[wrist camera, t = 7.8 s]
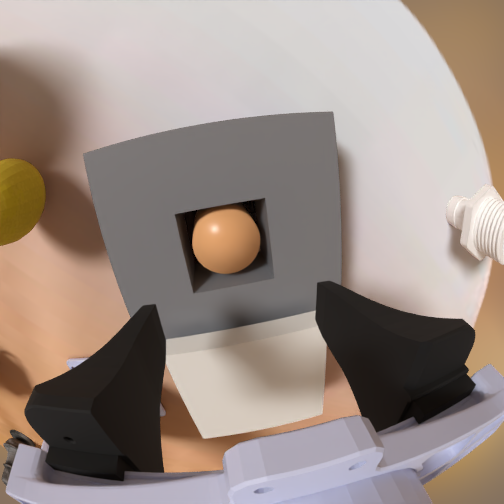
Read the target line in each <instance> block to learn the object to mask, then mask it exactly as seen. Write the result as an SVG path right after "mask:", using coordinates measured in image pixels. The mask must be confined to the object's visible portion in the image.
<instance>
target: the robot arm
mask: <svg viewBox="0 0 504 504" xmlns="http://www.w3.org/2000/svg"><path fill="white" fill-rule="evenodd" d="M315 320H316V323H317V325H318V328H319V330H320V333H321V335H322V337H323V339H324V340H325V342H326V344H327V345H328V347H329V349H330V350H331V352H332V354H333V355H334V357H335V359H336V360H337V362H338V364H339V365H340V367H341V368H342V370H343V372H344V374H345V376H346V378H347V380H348V382H349V385H350V387H351V389H352V391H353V394H354V396H355V399H356V401H357V404H358V407H359V409H360V412H361V415H362V416H357V415H355V416H350V417H344V418H339V419H336V420H333V421H329V422H326V423H322V424H318V425H314V426H310V427H306V428H302V429H298V430H294V431H289V432H284V433H280V434H275V435H269V436H264V437H258V438H254V439H251V440H247V441H243V442H240V443H238V444H236V445H235V446H233V447H232V448H230V449H228V450H227V451H226V452H225V453H224V457H223V460H222V461H223V469H224V470H216V471H203V472H182V473H164V467H163V459H162V448H161V433H160V416H165V415H166V411H165V410H164V408H163V406H162V404H161V403H160V399H161V391H162V384H163V377H164V370H165V362H166V338H165V335H164V332H163V328H162V325H161V321H160V318H159V314H158V310H157V306H156V304H151V305H143V306H142V307H141V308H140V309H139V310H138V311H137V312H136V313H135V314H134V315H133V316H132V318H131V319H130V320H129V321H128V322H127V323H126V324H125V325H124V326H123V328H122V329H121V330H120V331H119V332H118V333H117V334H116V335H115V336H114V337H113V338H112V339H111V340H110V341H109V342H108V343H107V344H105V345H104V346H103V347H102V348H101V349H100V350H98V351H97V352H96V353H95V354H93V355H92V356H91V357H89V358H76V359H68V360H67V365H68V367H69V368H70V370H69V371H67V372H66V373H64V374H62V375H60V376H58V377H56V378H53V379H51V380H49V381H46V382H44V383H41V384H39V385H36V386H35V387H34V389H33V392H32V394H31V396H30V398H29V401H28V403H27V405H26V407H25V416H26V419H27V421H28V422H29V424H30V425H31V426H32V428H33V429H34V430H35V431H36V432H37V433H38V434H39V435H40V437H41V438H42V439H43V440H44V441H43V444H42V447H41V449H40V448H37V447H33V446H29V445H25V444H22V443H21V444H19V446H18V449H17V452H16V456H15V459H14V462H13V465H12V469H11V472H10V476H9V480H8V483H7V487H6V493H7V494H8V495H10V496H11V497H13V498H14V499H16V500H17V501H18V502H20V503H21V504H433V503H432V501H431V499H430V498H429V496H428V494H427V492H426V491H425V489H424V487H423V485H424V484H426V483H427V482H429V481H431V480H432V479H434V478H435V477H436V476H438V475H440V474H441V473H442V472H444V471H445V470H447V469H448V468H450V467H451V466H452V465H453V464H455V463H457V462H458V461H459V460H461V459H462V458H463V457H464V456H465V455H467V454H468V453H469V452H471V451H472V450H473V449H475V448H476V447H477V446H478V445H480V444H481V443H482V442H483V441H485V440H486V439H487V438H488V437H489V436H490V435H492V434H493V433H494V432H495V431H496V430H497V428H498V427H499V426H500V425H501V424H502V422H503V421H504V377H503V376H502V375H501V374H500V373H499V372H498V371H497V370H496V369H495V368H494V367H493V366H492V365H491V364H488V365H486V366H485V367H483V368H482V369H480V370H479V371H477V372H476V373H475V374H474V375H473V376H472V377H471V378H470V377H469V376H468V375H467V374H466V373H468V371H469V370H468V368H467V367H466V366H465V362H466V360H467V358H468V356H469V353H470V351H471V349H472V347H473V343H474V340H475V330H474V329H473V328H472V327H471V326H470V325H469V324H468V323H466V322H465V321H464V320H463V319H448V318H435V317H427V316H421V315H416V314H412V313H407V312H403V311H400V310H397V309H393V308H390V307H387V306H385V305H382V304H379V303H377V302H375V301H372V300H370V299H368V298H365V297H363V296H361V295H359V294H357V293H355V292H353V291H351V290H349V289H347V288H345V287H343V286H341V285H339V284H337V283H335V282H332V281H323V282H317V296H316V313H315Z"/></svg>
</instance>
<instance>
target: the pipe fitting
mask: <svg viewBox="0 0 504 504" xmlns="http://www.w3.org/2000/svg"><path fill="white" fill-rule="evenodd" d="M446 219H447V221H448V223H449V224H451V225H452V226H454V227H455V228H457V229H459V230H462V233H461V239H460V244H461V245H462V246H463V247H464V248H465V249H466V250H467V251H468V252H469V253H470V254H471V255H472V256H473V257H475V258H476V259H478V260H480V261H482V260H483V259H484V258H485V256H486V255H487V256H489V257H490V258H492V259H493V260H496V261H497V262H499V263H500V264H502V265H504V201H503V200H502V198H501V197H500V195H499V194H498V192H497V191H496V189H495V188H494V187H493V186H490V185H487V184H485V185H484V186H483V187H482V188H481V189H480V190H479V191H478V192H477V193H476V194H475V195H474V196H473V197H472V198H471V199H470V200H469V199H468V198H466V197H461V196H454V197H452V198H451V199H450V200H449V202H448V204H447V207H446Z"/></svg>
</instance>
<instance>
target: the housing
mask: <svg viewBox="0 0 504 504" xmlns="http://www.w3.org/2000/svg"><path fill="white" fill-rule="evenodd" d="M83 156H84V161H85V167H86V172H87V177H88V181H89V186H90V190H91V195H92V199H93V203H94V207H95V211H96V215H97V219H98V222H99V226H100V230H101V233H102V237H103V240H104V243H105V247H106V250H107V253H108V256H109V259H110V262H111V265H112V268H113V271H114V274H115V277H116V280H117V283H118V286H119V289H120V291H121V294H122V297H123V299H124V302H125V305H126V307H127V310H128V312H129V315H130V317H131V318H132V316H133V315H134V314H135V313H136V312H137V311H138V310H139V309H140V308H141V307H142V306H143V305H151V304H156V306H157V310H158V314H159V318H160V321H161V325H162V328H163V332H164V335H165V338H166V339H172V338H179V337H185V336H192V335H198V334H204V333H210V332H215V331H221V330H227V329H232V328H237V327H242V326H247V325H252V324H257V323H262V322H267V321H272V320H276V319H281V318H285V317H290V316H294V315H299V314H303V313H307V312H311V311H315V310H316V296H317V282H323V281H332V282H335V283H337V284H339V285H341V273H342V241H341V204H340V184H339V168H338V155H337V144H336V133H335V124H334V115H333V112H309V113H291V114H278V115H267V116H257V117H248V118H240V119H232V120H225V121H218V122H212V123H206V124H200V125H195V126H189V127H184V128H179V129H174V130H169V131H165V132H160V133H156V134H151V135H147V136H143V137H139V138H135V139H131V140H128V141H124V142H120V143H117V144H113V145H110V146H106V147H103V148H100V149H97V150H93V151H90V152H87V153H84V154H83ZM250 200H254V204H255V211H256V219H257V227H258V230H259V233H260V250H261V251H259V252H258V254H257V256H256V257H255V259H254V260H253V261H252V263H251V264H250V265H248V266H247V267H246V268H244V269H242V270H240V271H238V272H235V273H230V274H221V273H216V272H213V271H210V270H209V269H207V268H205V267H204V266H203V265H202V264H201V263H195V262H194V258H193V253H192V249H191V244H190V240H189V235H188V230H187V226H186V221H185V216H184V212H188V211H194V210H199V209H204V208H210V207H215V206H221V205H226V204H232V203H238V202H244V201H250Z"/></svg>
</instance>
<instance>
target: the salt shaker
mask: <svg viewBox="0 0 504 504" xmlns="http://www.w3.org/2000/svg"><path fill="white" fill-rule="evenodd" d="M10 433H11V435H12V437H13V438H10V439H8V440H7V441H6V443H4V444H3V445H4V447H5V448H6V450H7V451H8V457H7V460H6V463H5V464H3V465H4V466H5V468H4V472H3V475H2V481H3V482H4V484H6V486H7V483H8V480H9V476H10V472H11V469H12V465H13V462H14V459H15V456H16V452H17V449H18V446H19V444H21V443H22V444H25V445H29V446H33V447H35V444H34V443H33V441H31V440H30V439H29V438H28V437H27V436H25V435H24V434H22V433H20V432H18V431H16V430H10Z"/></svg>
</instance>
